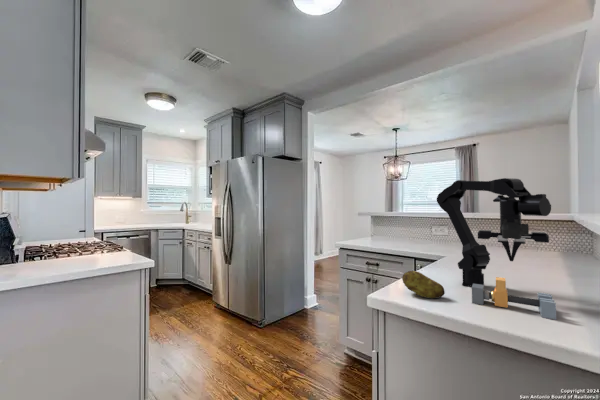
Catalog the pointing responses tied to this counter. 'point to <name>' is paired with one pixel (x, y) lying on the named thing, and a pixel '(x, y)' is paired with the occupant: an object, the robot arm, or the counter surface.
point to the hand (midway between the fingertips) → (511, 261)
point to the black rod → (522, 300)
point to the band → (492, 296)
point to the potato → (422, 285)
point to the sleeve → (501, 293)
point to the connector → (479, 294)
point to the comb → (547, 306)
